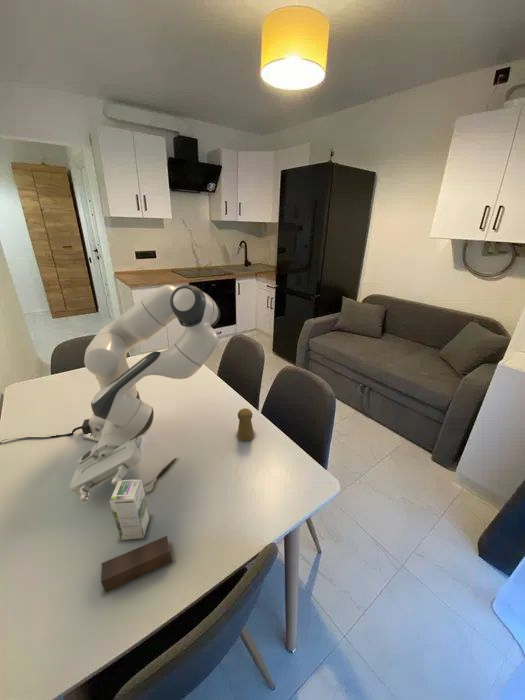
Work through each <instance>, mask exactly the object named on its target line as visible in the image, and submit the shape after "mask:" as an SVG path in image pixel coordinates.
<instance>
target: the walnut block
mask: <svg viewBox="0 0 525 700" xmlns="http://www.w3.org/2000/svg"><path fill="white" fill-rule="evenodd" d="M172 558H173V557H172V554H171V548H170V543H169V539H168V535H164V536H162V537H160V538H157V539H155V540H153V541H151V542H148V543H146V544H143V545H141V546H139V547H137V548H134V549H131V550H129V551H127V552H125V553H122V554H120V555H117V556H115V557H112V558H111V559H108V560H106V561H103V562H101V563H100V565H101V567H100V568H101V569H100V583H101V585H102V588H103V590H104V592H105V593H107V592H109V591H112V590H114V589H115V588H118V587H120V586H123V585H124V584H127V583H129V582H131V581H133V580H135V579H138V578H140V577H142V576H144V575H146V574H148V573H151V572H153V571H155V570H157V569H160V568H161V567H164V566H166V565H168V564H170V563H172V562H173V559H172Z"/></svg>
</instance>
